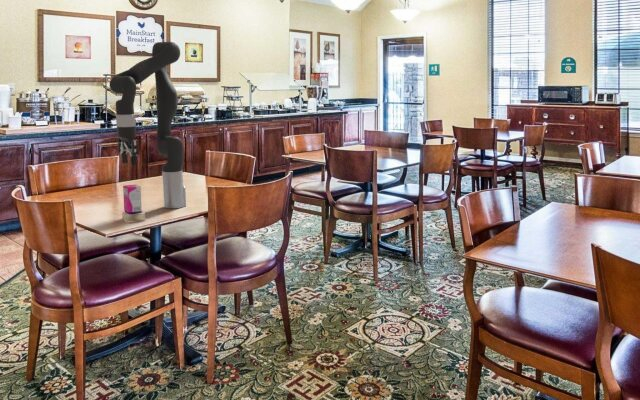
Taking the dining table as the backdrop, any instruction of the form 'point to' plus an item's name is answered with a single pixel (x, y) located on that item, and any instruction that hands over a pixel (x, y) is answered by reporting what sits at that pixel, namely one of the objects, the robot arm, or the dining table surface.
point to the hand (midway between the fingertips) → (129, 164)
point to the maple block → (133, 217)
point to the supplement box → (132, 199)
